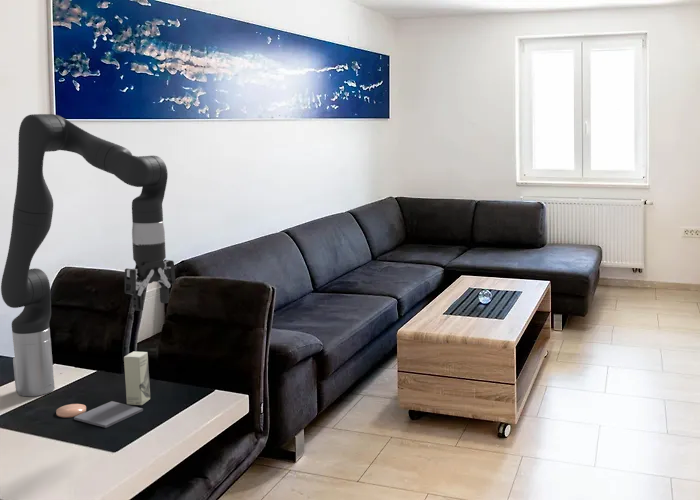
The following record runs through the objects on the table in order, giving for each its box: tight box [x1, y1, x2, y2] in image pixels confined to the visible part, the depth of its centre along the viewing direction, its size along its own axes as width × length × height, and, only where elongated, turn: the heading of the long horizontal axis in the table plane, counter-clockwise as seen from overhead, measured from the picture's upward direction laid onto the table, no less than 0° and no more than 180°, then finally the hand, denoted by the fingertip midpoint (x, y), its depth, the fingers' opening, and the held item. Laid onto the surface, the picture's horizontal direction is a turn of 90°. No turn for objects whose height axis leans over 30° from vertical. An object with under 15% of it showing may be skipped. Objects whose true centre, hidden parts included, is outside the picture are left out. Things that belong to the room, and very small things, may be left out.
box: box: [123, 351, 151, 406], centre depth 192 cm, size 5×4×13 cm
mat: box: [73, 400, 144, 429], centre depth 185 cm, size 11×12×1 cm
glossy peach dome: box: [55, 403, 87, 418], centre depth 187 cm, size 7×7×1 cm
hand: (151, 306), depth 181 cm, fingers open, 8 cm apart
